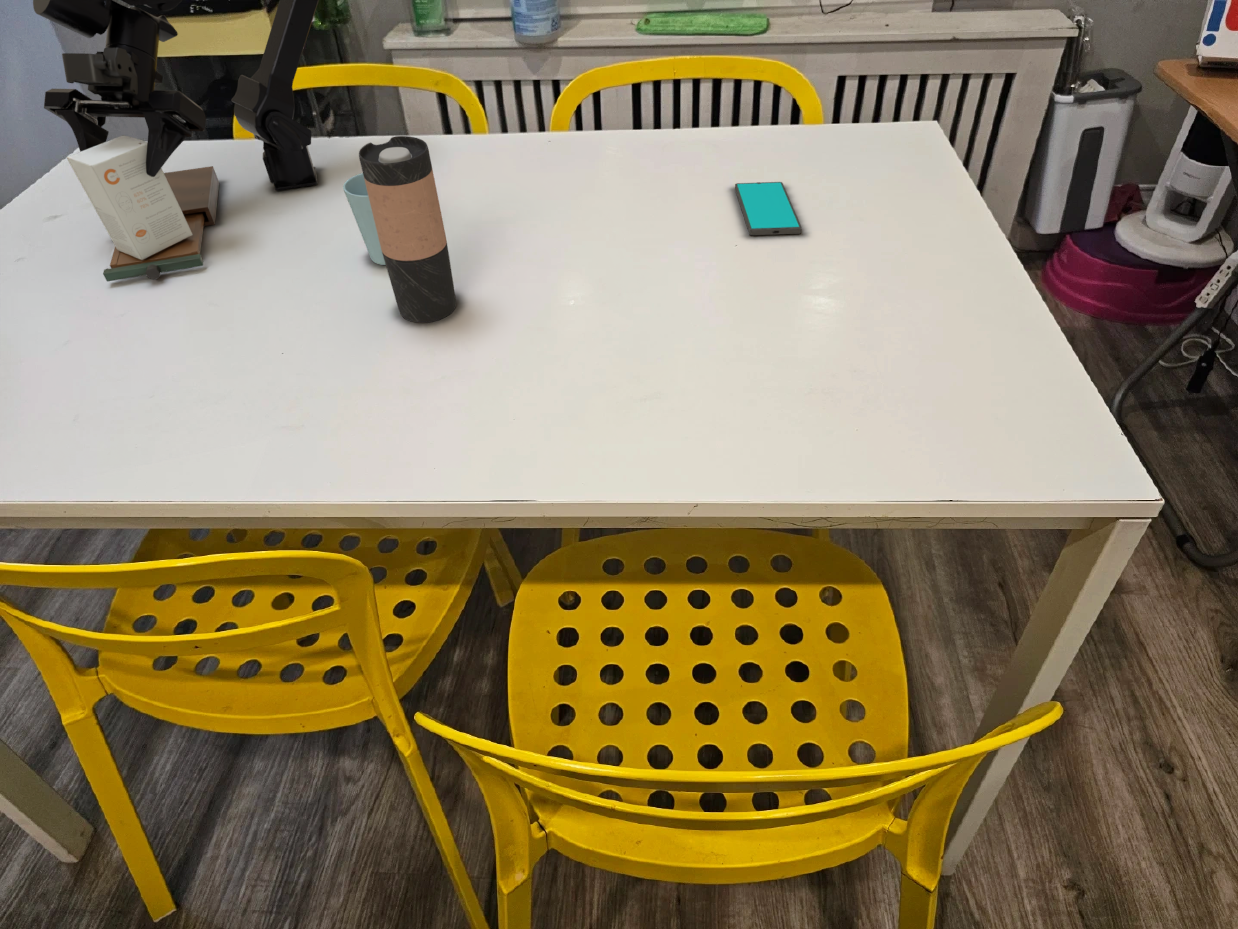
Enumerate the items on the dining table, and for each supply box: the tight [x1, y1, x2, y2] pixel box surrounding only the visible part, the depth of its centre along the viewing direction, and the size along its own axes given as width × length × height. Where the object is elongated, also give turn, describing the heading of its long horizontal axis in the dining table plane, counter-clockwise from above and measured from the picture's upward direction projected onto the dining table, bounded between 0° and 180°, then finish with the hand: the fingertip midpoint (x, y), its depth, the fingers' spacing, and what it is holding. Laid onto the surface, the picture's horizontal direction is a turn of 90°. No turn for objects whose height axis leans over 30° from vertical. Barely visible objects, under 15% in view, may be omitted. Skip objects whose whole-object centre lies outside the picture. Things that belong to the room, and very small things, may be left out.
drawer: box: [102, 213, 205, 282], centre depth 110 cm, size 16×12×2 cm
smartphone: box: [734, 181, 803, 236], centre depth 116 cm, size 7×1×15 cm
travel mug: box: [358, 135, 457, 324], centre depth 93 cm, size 8×8×20 cm
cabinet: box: [163, 165, 220, 227], centre depth 120 cm, size 15×13×3 cm
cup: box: [342, 172, 386, 266], centre depth 106 cm, size 8×8×10 cm
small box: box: [66, 134, 193, 260], centre depth 105 cm, size 8×6×13 cm
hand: (120, 174), depth 102 cm, fingers closed on small box, 8 cm apart
